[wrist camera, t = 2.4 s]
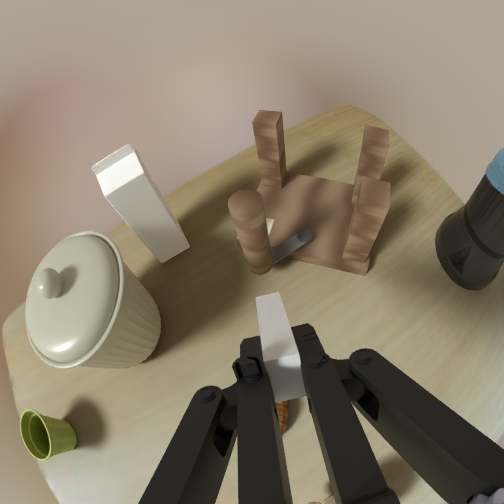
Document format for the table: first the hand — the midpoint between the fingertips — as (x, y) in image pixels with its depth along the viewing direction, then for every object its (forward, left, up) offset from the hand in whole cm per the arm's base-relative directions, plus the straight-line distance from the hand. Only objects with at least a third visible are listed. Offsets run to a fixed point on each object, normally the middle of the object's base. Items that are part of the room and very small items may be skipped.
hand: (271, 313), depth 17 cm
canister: (+24, +5, -22) cm, 33 cm away
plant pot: (+30, +31, -22) cm, 49 cm away
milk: (+24, -12, -22) cm, 35 cm away
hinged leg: (+4, -14, -19) cm, 24 cm away
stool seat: (+1, -23, -22) cm, 32 cm away
